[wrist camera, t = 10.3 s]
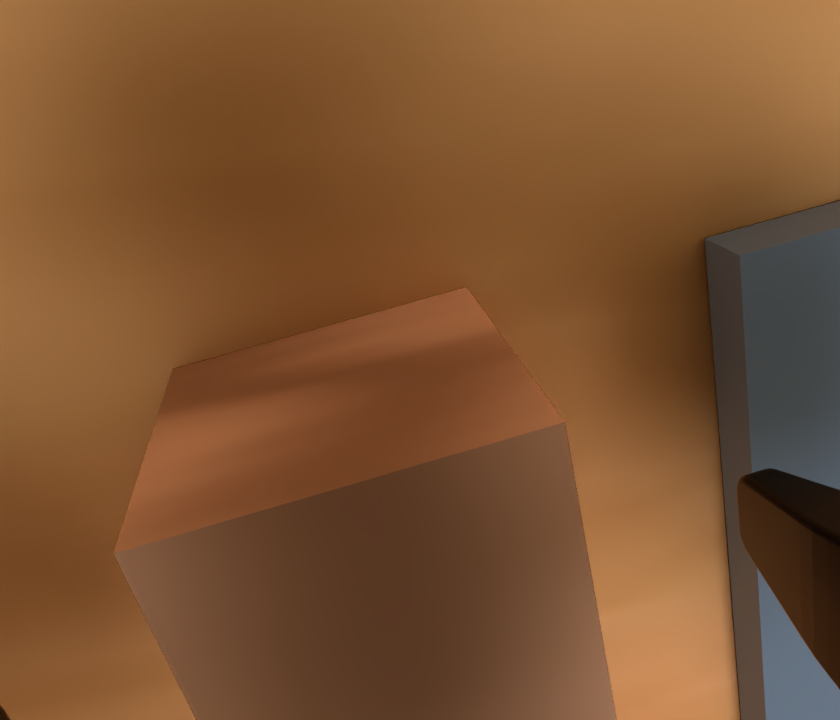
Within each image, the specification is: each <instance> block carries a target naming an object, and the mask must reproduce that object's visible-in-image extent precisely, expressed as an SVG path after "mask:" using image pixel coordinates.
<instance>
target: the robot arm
mask: <svg viewBox="0 0 840 720" xmlns="http://www.w3.org/2000/svg"><path fill="white" fill-rule="evenodd" d="M736 491H737V506H738V520H739V532H740V537H741V540H742V543H743V545H744V547H745V549H746V551H747V553H748V554H749V556H750V557H751V559H752V560H753V562H754V564H755V565H756V567H757V568H758V570H759V572H760V573H761V575H762V576H763V578H764V579H765V581H766V583H767V584H768V586H769V587H770V589H771V590H772V592H773V594H774V595H775V597H776V598H777V600H778V601H779V603H780V605H781V606H782V608H783V609H784V611H785V612H786V614H787V616H788V617H789V619H790V620H791V622H792V623H793V625H794V627H795V628H796V630H797V631H798V633H799V635H800V636H801V638H802V639H803V641H804V642H805V644H806V645H807V647H808V648H809V650H810V651H811V653H812V654H813V656H814V657H815V658H816V660H817V661H818V662H819V664H820V665H821V666H822V668H823V669H824V670H825V672H826V673H827V674H828V676H829V677H830V678H831V679H832V681H833V682H834V683H835V684H836V686H837V687H838V688H839V689H840V490H839V489H836V488H833V487H830V486H826V485H823V484H820V483H817V482H814V481H811V480H808V479H805V478H802V477H799V476H796V475H793V474H789V473H786V472H783V471H780V470H777V469H773V468H767V469H763V470H760V471H756V472H753V473H750V474H746V475H743V476H741V477H740V478H739V480H738V481H737V487H736ZM0 720H10V718H9V717H8V715H7V714H6V712H5V710H4V709H3V708H2V707H1V705H0Z"/></svg>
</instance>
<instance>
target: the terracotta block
mask: <svg viewBox="0 0 840 720" xmlns="http://www.w3.org/2000/svg"><path fill="white" fill-rule="evenodd" d="M113 555H114V557H115V559H116V561H117V563H118V565H119V567H120V569H121V571H122V573H123V575H124V577H125V579H126V581H127V583H128V585H129V587H130V589H131V591H132V593H133V595H134V597H135V599H136V601H137V603H138V605H139V607H140V608H141V610H142V612H143V614H144V616H145V618H146V620H147V622H148V624H149V626H150V628H151V630H152V632H153V634H154V636H155V638H156V640H157V642H158V644H159V646H160V648H161V650H162V652H163V654H164V656H165V658H166V660H167V662H168V664H169V666H170V668H171V670H172V672H173V674H174V676H175V678H176V680H177V682H178V684H179V686H180V688H181V690H182V692H183V694H184V696H185V698H186V700H187V702H188V704H189V706H190V708H191V710H192V712H193V714H194V716H195V718H196V720H617V718H616V713H615V707H614V701H613V695H612V690H611V684H610V678H609V672H608V667H607V661H606V655H605V649H604V644H603V638H602V632H601V627H600V621H599V615H598V609H597V604H596V598H595V592H594V586H593V581H592V575H591V569H590V563H589V558H588V552H587V546H586V540H585V535H584V529H583V523H582V518H581V512H580V506H579V500H578V495H577V489H576V483H575V477H574V472H573V466H572V460H571V454H570V449H569V443H568V437H567V432H566V426H565V422H564V420H563V419H562V417H561V416H560V415H559V413H558V412H557V411H556V409H555V408H554V406H553V405H552V404H551V402H550V401H549V400H548V398H547V397H546V395H545V394H544V393H543V391H542V390H541V389H540V387H539V386H538V385H537V383H536V382H535V380H534V379H533V378H532V376H531V375H530V374H529V372H528V371H527V369H526V368H525V367H524V365H523V364H522V363H521V361H520V360H519V358H518V357H517V356H516V354H515V353H514V352H513V350H512V349H511V347H510V346H509V345H508V343H507V342H506V341H505V339H504V338H503V337H502V335H501V334H500V332H499V331H498V330H497V328H496V327H495V326H494V324H493V323H492V321H491V320H490V319H489V317H488V316H487V315H486V313H485V312H484V310H483V309H482V308H481V306H480V305H479V304H478V302H477V301H476V299H475V298H474V297H473V295H472V294H471V293H470V291H469V290H468V289H467V287H465V288H461V289H458V290H454V291H451V292H447V293H443V294H440V295H436V296H433V297H429V298H425V299H422V300H418V301H415V302H411V303H407V304H404V305H400V306H397V307H393V308H390V309H386V310H382V311H379V312H375V313H372V314H368V315H364V316H361V317H357V318H354V319H350V320H347V321H343V322H339V323H336V324H332V325H329V326H325V327H321V328H318V329H314V330H311V331H307V332H304V333H300V334H296V335H293V336H289V337H286V338H282V339H278V340H275V341H271V342H268V343H264V344H261V345H257V346H253V347H250V348H246V349H243V350H239V351H235V352H232V353H228V354H225V355H221V356H218V357H214V358H210V359H207V360H203V361H200V362H196V363H192V364H189V365H185V366H182V367H178V368H175V369H173V370H172V373H171V376H170V379H169V382H168V385H167V388H166V391H165V394H164V397H163V401H162V404H161V407H160V410H159V413H158V416H157V419H156V422H155V425H154V428H153V432H152V435H151V438H150V441H149V444H148V447H147V450H146V453H145V456H144V460H143V463H142V466H141V469H140V472H139V475H138V478H137V481H136V484H135V487H134V491H133V494H132V497H131V500H130V503H129V506H128V509H127V512H126V515H125V518H124V522H123V525H122V528H121V531H120V534H119V537H118V540H117V543H116V546H115V550H114V553H113Z"/></svg>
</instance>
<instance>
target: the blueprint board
mask: <svg viewBox="0 0 840 720" xmlns="http://www.w3.org/2000/svg"><path fill="white" fill-rule="evenodd" d="M705 250H706V263H707V277H708V290H709V303H710V316H711V329H712V343H713V356H714V369H715V382H716V395H717V409H718V422H719V435H720V448H721V461H722V474H723V488H724V501H725V514H726V527H727V540H728V554H729V567H730V580H731V593H732V606H733V620H734V633H735V646H736V659H737V672H738V685H739V699H740V712H741V720H840V689H839V688H838V687H837V686H836V684H835V683H834V682H833V681H832V679H831V678H830V677H829V676H828V674H827V673H826V672H825V670H824V669H823V668H822V666H821V665H820V664H819V662H818V661H817V660H816V658H815V657H814V656H813V654H812V653H811V651H810V650H809V648H808V647H807V645H806V644H805V642H804V641H803V639H802V638H801V636H800V635H799V633H798V631H797V630H796V628H795V627H794V625H793V623H792V622H791V620H790V619H789V617H788V616H787V614H786V612H785V611H784V609H783V608H782V606H781V605H780V603H779V601H778V600H777V598H776V597H775V595H774V594H773V592H772V590H771V589H770V587H769V586H768V584H767V583H766V581H765V579H764V578H763V576H762V575H761V573H760V572H759V570H758V568H757V567H756V565H755V564H754V562H753V560H752V559H751V557H750V556H749V554H748V553H747V551H746V549H745V547H744V545H743V543H742V540H741V537H740V532H739V520H738V506H737V491H736V487H737V481H738V480H739V478H740V477H741V476H743V475H746V474H750V473H753V472H756V471H760V470H763V469H767V468H773V469H777V470H780V471H783V472H786V473H789V474H793V475H796V476H799V477H802V478H805V479H808V480H811V481H814V482H817V483H820V484H823V485H826V486H830V487H833V488H836V489H839V490H840V201H837V202H833V203H829V204H826V205H822V206H819V207H815V208H811V209H808V210H804V211H801V212H797V213H794V214H790V215H786V216H783V217H779V218H776V219H772V220H768V221H765V222H761V223H758V224H754V225H750V226H747V227H743V228H740V229H736V230H733V231H729V232H725V233H722V234H718V235H715V236H711V237H707V238H705Z"/></svg>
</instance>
